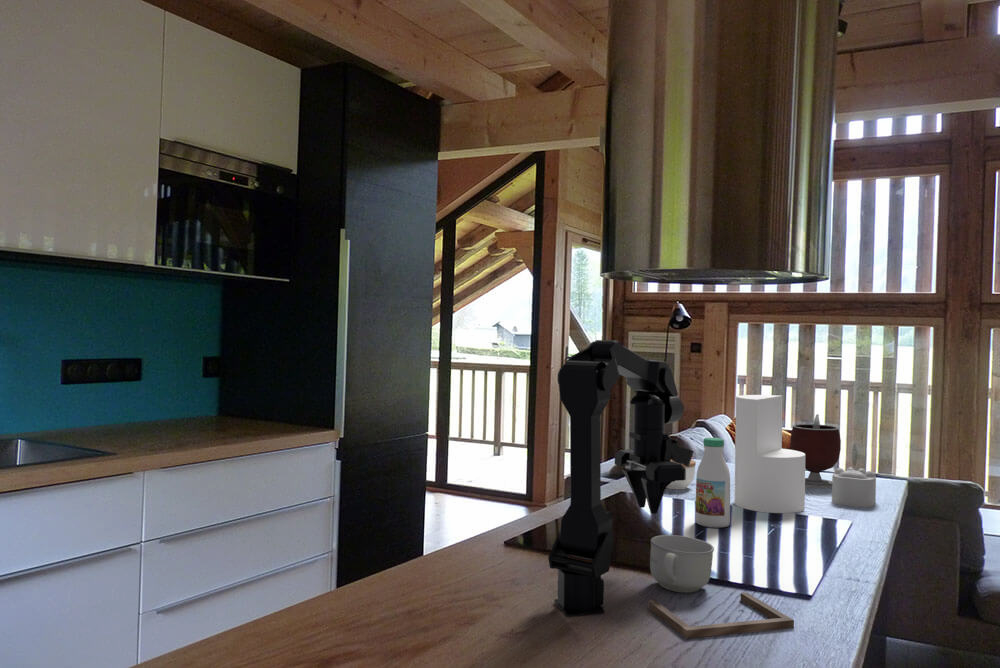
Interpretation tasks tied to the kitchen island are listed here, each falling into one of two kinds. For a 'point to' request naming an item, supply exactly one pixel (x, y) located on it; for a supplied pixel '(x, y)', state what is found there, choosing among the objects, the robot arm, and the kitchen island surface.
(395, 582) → the kitchen island surface
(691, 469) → the lidded jar
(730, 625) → the frame
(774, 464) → the white stepped block
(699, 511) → the milk bottle
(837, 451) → the mate gourd
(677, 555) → the teacup
